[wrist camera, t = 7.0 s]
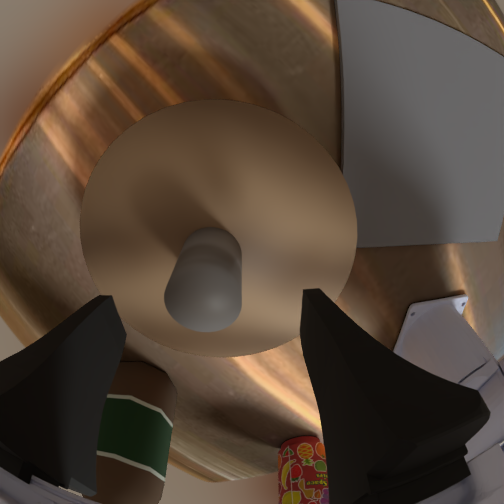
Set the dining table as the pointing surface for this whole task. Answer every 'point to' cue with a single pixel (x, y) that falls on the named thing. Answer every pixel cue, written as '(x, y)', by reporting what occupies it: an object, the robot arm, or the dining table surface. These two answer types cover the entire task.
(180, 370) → the dining table surface
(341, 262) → the lid
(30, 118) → the dining table surface
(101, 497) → the beer bottle
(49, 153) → the dining table surface
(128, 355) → the dining table surface
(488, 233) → the mat
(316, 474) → the smoothie
